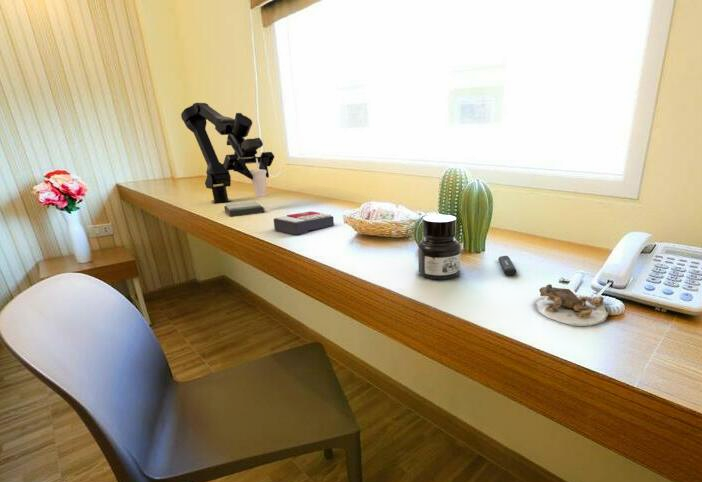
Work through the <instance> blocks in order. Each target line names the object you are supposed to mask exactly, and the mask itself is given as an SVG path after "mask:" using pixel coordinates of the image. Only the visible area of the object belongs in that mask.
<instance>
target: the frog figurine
mask: <svg viewBox="0 0 702 482" xmlns="http://www.w3.org/2000/svg"><path fill="white" fill-rule="evenodd" d="M539 293H540V294H539V296H540V297H544V298H540V299H539V300H538V301H537V302H536V303H535V306H536V309H537V311H538V312H539V313H540V314H541V315H543V316H544V317H546V318H547V319H550V320H553V321H557V322H559V323H560V324H561V323H562V324H566V325H569V326H572V327H573V326H574V327H587V326H595V325H599V324H601V323H603V322H605V321H606V319H607V318H608V316H609V311H607V310H606V309H607V307H606V304H605V302H604V300H605V297H603V296H601V295H600V296H596V295H595V296H594V297H592V296H588V295H583V296H582V295H579V294H575V293H574V292H573V291H572V290H571V289H570V288H563V287H554V286H553V284H547V285H546V286H541V287H540V288H539Z"/></svg>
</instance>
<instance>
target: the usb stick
mask: <svg viewBox="0 0 702 482" xmlns="http://www.w3.org/2000/svg"><path fill="white" fill-rule="evenodd" d="M498 262H499V264H500V266H501V268H502V270H503V273H504V274H505V275H506V276H515V275H517V269H516V267H515V266H514V263H513V262H512V260H511V258H510V257H509V256H508V255H501V256H499V257H498Z"/></svg>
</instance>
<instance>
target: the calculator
mask: <svg viewBox="0 0 702 482" xmlns="http://www.w3.org/2000/svg"><path fill="white" fill-rule="evenodd" d="M334 220H335V219H334V216H333V215H332V214H328V213H322V212H317V211H305V212H299V213H293V214H292V213H291V214H287V215H283V216H276V217H274V218H273V228H274V231H277V232H281V233H285V234H286V233H287V234H290V235H294V236H298V235H303V234H307V233H308V232H310V231H315V230H319V229H324V228H328V227H333V226H334V225H335V222H334Z"/></svg>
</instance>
